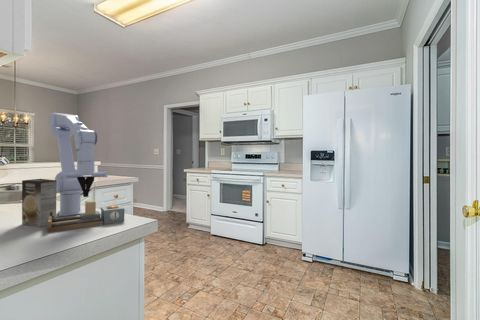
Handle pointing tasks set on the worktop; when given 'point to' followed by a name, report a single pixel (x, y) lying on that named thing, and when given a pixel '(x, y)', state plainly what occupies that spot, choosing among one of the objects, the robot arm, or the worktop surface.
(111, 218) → the end cabinet
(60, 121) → the robot arm
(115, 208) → the button
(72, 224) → the track
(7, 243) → the worktop surface
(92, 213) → the carriage
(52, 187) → the coffee box
